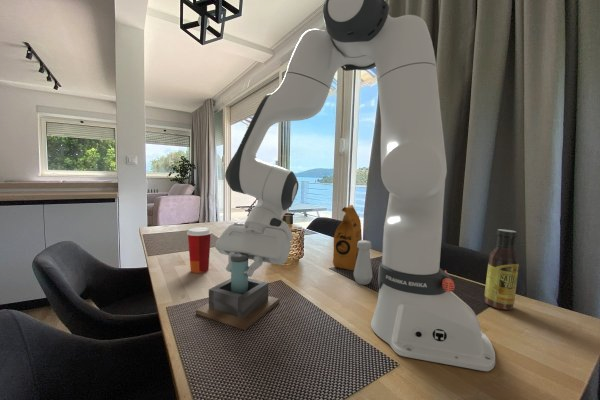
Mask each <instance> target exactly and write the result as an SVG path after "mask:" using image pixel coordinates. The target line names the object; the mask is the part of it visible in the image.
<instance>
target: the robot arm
mask: <svg viewBox="0 0 600 400" xmlns="http://www.w3.org/2000/svg"><path fill="white" fill-rule="evenodd" d="M389 10H390V6H389V4H388V2H387V1H386V0H324V3H323V7H322V17H323V21H324V26H325V29H321V28H312V29H308V30H306V31H305V32H304V33H303V34H302V35H301V36H300V38H299V40H298V42H297V44H296V46H295V48H294V49H293V52H292V54H291V57H290V60H289V62H288V65H287V67H286V68H287V69H286V72H285V74H284V78H283V79H282V82H281V83H280V84H279V86H278V88H276V89H275V90H274V92H272V93H268V94H265V96H264V97H263V99H261V102H260V103H259V105H258V106H257V108H256V110H255V112H254V114H253V117H251V120H250V123H249V125H248V127H247V129H246V131H245V133H244V136H243V137H242V140H241V142H240V143H239V146H238V147H237V150H236V152H235V153H234V155H233V156H232V158H231V160H230V161H229V164H228V165H227V168H226V170H225V175H224V177H225V180H226V182H227V185H228V186H229V188H230V189H231V191H233V192H236V193H239V194H243V195H248V196H250V197H253V198H256V199H257V202H256V205H255V206H254V207H253V208H252V209H251V211H250V213H249V215H248V216H247V218H246V220H245V221H244V223H238V222H234V223H233V224H230V225H229V226H227V227H226V229H224V230H223V232H222V233H221V235H220V236H219V237H218V239H217V240H216V242H215V244H214V246H215V247H214V248H215V249H216V250H217V252H219V253H220V254H221V255H225V256H228V258H227V259H228V262H227V265H226V267H225V271H227V272H228V273H231V255H233V254H237V253H243V254H248V260H252V261H253V262H252V263H251V264H250V265H248V266H246V268H245V270H244V274H245V275H246V276H248V278H249V277H252V276H253V274H254V272H255V271H257V269H259V268H260V267H261V266H262V265H263V263H269V264H273V265H279V266H282V265H284V264H285V263H286V262H287V260H288V257H289V256H290V255H289V254H290V253H291V249H292V243H291V242H292V240H293V238H294V235H293V232H292V230H291V228H290V226H289V225H288V223H287V222H286V221H285V220H283V217H284V216H285V215H286V213H287V212H288V209H289V208H291V207H292V205H293V203H294V201H295V199H296V197H297V194H298V191H299V181H298V179H297V176H296V174H295V172H294V171H292V170H290V169H288V168H285V167H282V166H281V165H276V164H272V163H269V162H266V161H264V160H261V159H259V158H257V157H256V155H257V153H258V150H259V149H260V146H261V144H262V143H263V140H264V139H265V137H266V134H267V132H268V130H269V129H270V128H271V127H272V126H273V125H275V124H278V123H282V122H295V121H304V120H308V119H311V118H313V117H315V116H316V115H317V114H319V113H320V112H321V111H322V109H323V107H324V105H325V103H326V101H327V98H328V95H329V94H330V89H331V87H332V83H333V80H334V79H335V78H334V77H335V75H336V73H337V72H338V70H339V69H340V68H341V69H342V70H343V71H346V72H349V71H368V70H371V69H374V68H375V70H376V81H377V90H378V91H377V92H378V103H379V112H380V125H381V126H380V176H381V181H382V184H383V186H384V188H385V189H386V190H387V191H388V192H389V195H388V202H387V208H386V214H385V219H384V223H383V224H384V225H383V234H382V235H383V237H382V256H381V257H382V258H381V260H380V262H379V267H378V275H377V277H378V280H377V281H378V282H377V283H378V289H379V290H378V297H377V301H376V305H375V309H374V313H373V316H372V317H371V320H370V327H371V329H372V330H373V332H374V333H375V335H377V336H378V337H379V338H380V339H381V340H382V341H384V342H385V343H387V344H388V345H389V346H390V347H391V349H392V350H393V351H394V352H395V353H396V354H397V355H399V356H401V357H404V358H410V359H416V360H422V361H426V362H433V363H438V364H444V365H449V366H453V367H459V368H465V369H471V370H476V371H483V372H489V371H492V370H493V369H494V367H496V353H495V349H494V346H493V344H492V342H491V340H490V339H489V338H488V336H487V334H485V333H484V332H483V331H482V329H481V325H480V321H479V319H478V317H477V315H476V313H475V311H474V310H473V309H472V308H471V307H470V306H469V304H467V303H466V302H464V300H462V299H461V298H460V297H459V296H458V295H456V293H454V292H453V291H454V290H455V288H456V287H455V286H456V285H455V282H454V280H452V278H451V276H450V274H448V272H447V270H446V269H445V270H443V269H442V268H441V267H440V263H441V250H442V249H441V248H442V236H443V221H444V220H443V219H444V218H443V216H444V202H445V190H446V189H445V187H446V179H447V173H448V169H447V167H448V166H447V165H448V164H447V157H446V149H445V148H446V147H445V140H444V139H445V138H444V129H443V122H442V111H441V103H440V102H441V100H440V92H439V81H438V72H437V70H438V69H437V62H436V55H435V49H434V46H433V40H432V37H431V33H430V31H429V28H428V24H427V23H426V21H425V20H424V19H423V18H422V17H420V16H418V15H415V14H406V15H401V16H398V17H392V16H391V15H390V14H389V13H390V12H389Z"/></svg>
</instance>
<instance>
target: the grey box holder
mask: <svg viewBox="0 0 600 400" xmlns="http://www.w3.org/2000/svg"><path fill="white" fill-rule="evenodd" d="M279 303H280V298H278V297H274V296H269V282H267V281H262V280H258V279H253V278H249V277H248V291H247V292H246V293H244V294H243V295H241V294H238V293H234V292H231V278H229V279H227V280H225V281H223V282H221V283H218V284H217V285H215V286H213V287H211V288H209V289H208V302H206V303H205V304H203V305H202V306H200V307H198V308H196V309H195V315H198V316H201V317H204V318H208V319H210V320H214V321H215V322H220V323H222V324H224V325H228V326H231V327H235V328H237V329H239V330H243V331H246V330H248V329H249V327H251V326H253V324H255V323H256V322H257V321H258V320H259V319H261V318H262V317H264V316H265V315H266V314H267V313H268V312H269V311H271V310H272V309H273V308H274V307H276V306H277V305H278V304H279Z"/></svg>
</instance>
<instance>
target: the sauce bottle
mask: <svg viewBox="0 0 600 400" xmlns="http://www.w3.org/2000/svg"><path fill="white" fill-rule="evenodd" d="M496 230H497V231H496V235H497V237H496V244H495V247H494V248H493V250H492V251H491V252H490V254H489V259H488V264H487V270H486V280H485V288H484V303H485V304H486V305H488V306H489V307H491V308H495V309H498V310H502V311H503V310H504V311H509V310H513V308H514V305H515V300H516V292H517V285H518V277H519V270H520V264H519V260H518V257H517V252H516V239H517V237H518V232H517V231H516V230H511V229H505V228H503V229H501V228H499V229H498V228H497V229H496Z"/></svg>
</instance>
